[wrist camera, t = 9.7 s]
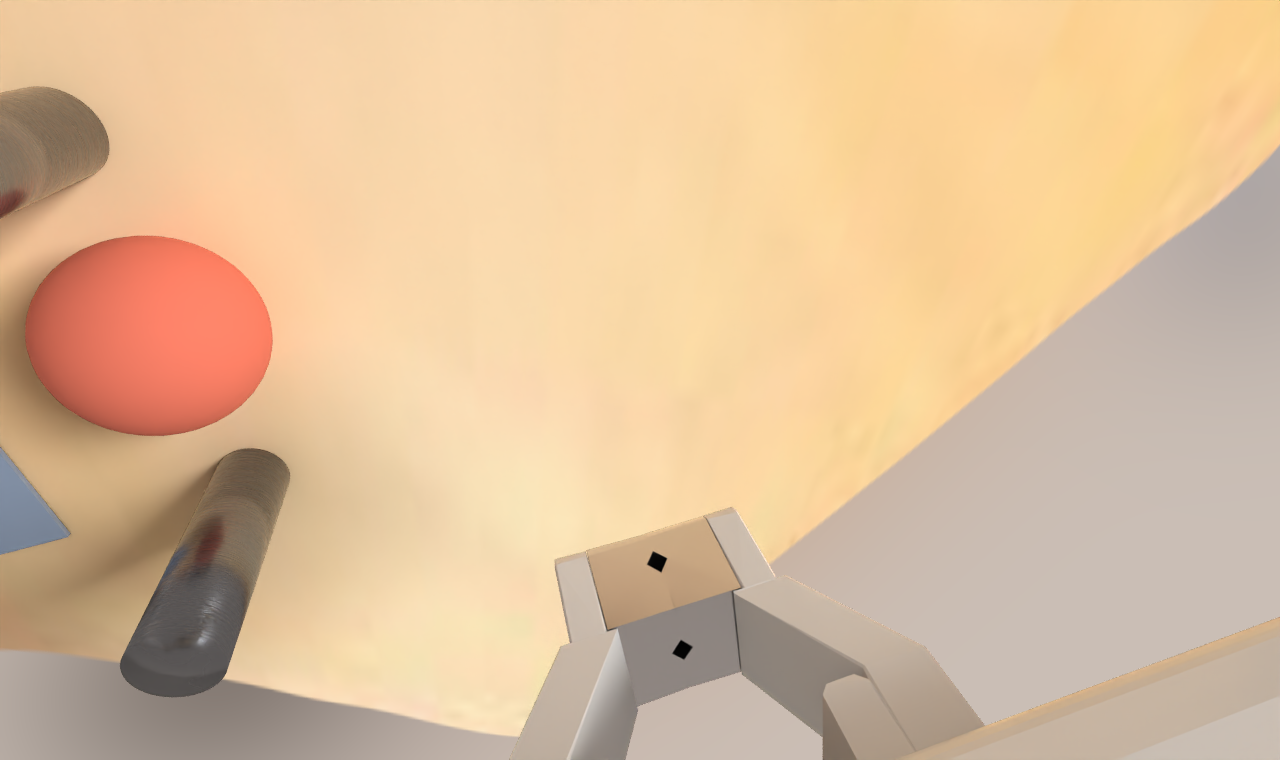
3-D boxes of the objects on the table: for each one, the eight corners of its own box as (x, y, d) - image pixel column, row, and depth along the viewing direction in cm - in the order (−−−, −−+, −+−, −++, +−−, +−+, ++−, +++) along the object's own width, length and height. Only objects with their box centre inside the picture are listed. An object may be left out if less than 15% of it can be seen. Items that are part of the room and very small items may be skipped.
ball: (162, 493, 18) (327, 403, 23) (97, 277, 15) (298, 230, 21) (14, 448, 20) (198, 373, 25) (-66, 246, 17) (157, 211, 22)
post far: (234, 509, 27) (150, 707, 19) (203, 458, 26) (100, 650, 18) (300, 491, 27) (244, 680, 20) (273, 441, 26) (201, 622, 18)
